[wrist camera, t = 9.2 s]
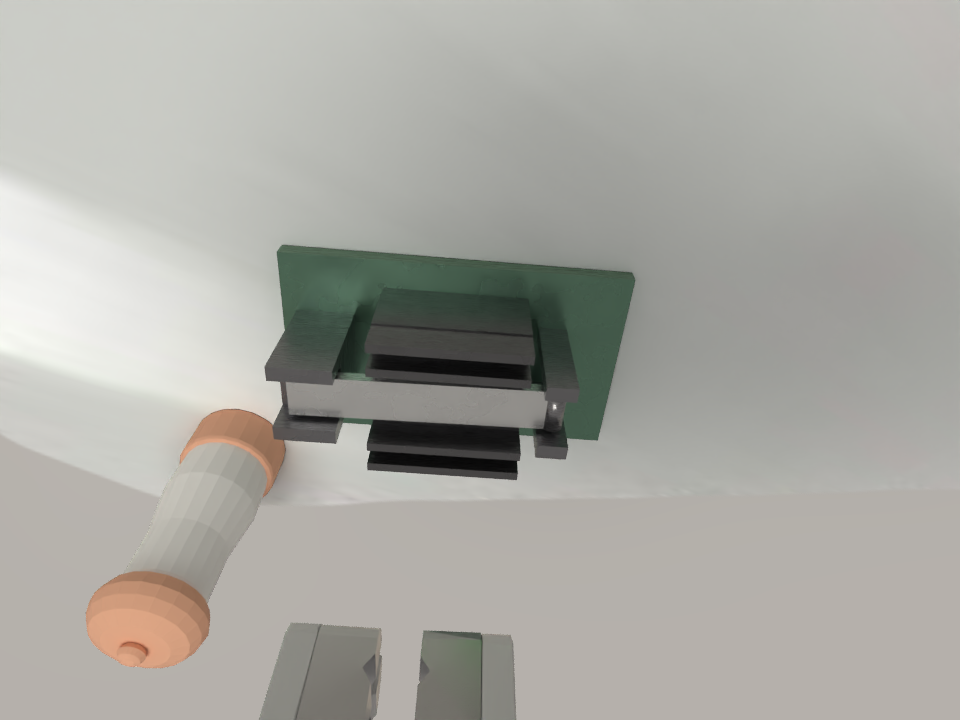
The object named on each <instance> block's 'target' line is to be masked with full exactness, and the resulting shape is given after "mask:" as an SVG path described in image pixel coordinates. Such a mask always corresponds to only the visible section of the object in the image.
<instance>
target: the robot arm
mask: <svg viewBox="0 0 960 720" xmlns="http://www.w3.org/2000/svg"><path fill="white" fill-rule="evenodd" d="M381 641H382V636H381V629H380V628H379V629H378V628H364V627H349V626H332V625H322V624H308V623H291V624H290V626H289V627H288V629H287V631H286V633H285V636H284V640H283V643H282V646H281V649H280V652H279V656H278V659H277V662H276V665H275V669H274V672H273V675H272V678H271V682H270V685H269V688H268V691H267V694H266V698H265V701H264V704H263V707H262V711H261V714H260V718H259V720H372V719H373V718H374V717H375V716H376V713H377V706H378V699H379V690H380V681H381V667H382V656H381V655H380V648H381ZM420 661H421V662H420V677H419V681H420V683H419V684H418V690H417V702H416V712H415V720H516V705H515V704H516V703H515V677H514V652H513V641H512V638H511V636H510V635H498V634H497V635H496V634H482V635H481V633H472V632H446V631H423V640H422V649H421V660H420Z"/></svg>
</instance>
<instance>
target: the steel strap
mask: <svg viewBox="0 0 960 720" xmlns="http://www.w3.org/2000/svg"><path fill="white" fill-rule="evenodd" d="M286 390H287V399H288V409H289V414H290V415H307V416H325V417H342V418H360V419H377V420H395V421H412V422H430V423H447V424H465V425H482V426H500V427H517V428H535V429H544V430H545V431H548V432H558V431H560V430H561V427H562V422H563V417H564V412H565V406H566V402H556V401H545V397H544V389H543V385H540V384H531V388H530V389H525V388H511V387H497V386H483V385H470V384H456V383H442V382H428V381H415V380H401V379H387V378H373V377H365V374H360V373H343V372H337V375H336V378H335V380H334V383H333V385H320V384H306V383H292V382H286Z"/></svg>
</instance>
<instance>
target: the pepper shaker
mask: <svg viewBox="0 0 960 720" xmlns="http://www.w3.org/2000/svg"><path fill="white" fill-rule="evenodd" d="M272 427H273V425H271V424H270V423H269V422H268V421H267V420H265V419H263V418H261V417H259V416H257V415H256V414H254V413H250V412H246V411H242V410H221V411H218V412H214V413H211V414H210V415H209V416H207V417H206V418H204V419H203V420H202V421H201V423H200V425H199V426H198V428H197V429H196V431H195V432H194V434H193V436H192V437H191V439H190V440H189V442H188V443H187V445H186V447H185V448H184V450H183V452H182V453H181V455H180V466H179V467H178V468H177V470H176V471H175V473H174V474H173V476H172V477H171V479H170V480H169V482H168V483H167V485H166V487H165V489H164V490H163V493H162V495H161V498H160V501H159V503H158V506H157V508H156V511H155V514H154V516H153V519H152V522H151V524H150V527H149V530H148V532H147V534H146V536H145V538H144V540H143V541H142V543H141V545H140V546H139V548H138V549H137V551H136V553H135V555H134V556H133V558H132V560H131V561H130V563H129V565H128V566H127V568H126V570H125V572H124V573H123V574H121V575H119V576H117V577H115V578H114V579H112V580H111V581H109V582H108V583H106V584H104V585H103V586H102V587H101V588H99V589H98V590H97V591H96V592H95V593H94V595H93V596H92V598H91V600H90V602H89V605H88V608H87V612H86V623H87V632H88V636H89V638H90V639H91V641H92V643H93V644H94V645H95V646H96V647H97V648H98V649H99V650H100V651H102V652H103V653H104V654H106V655H108V656H109V657H111V658H113V659H115V660H117V661H118V662H119V663H121V664H122V665H125V666H129V667H135V666H138V667H143V668H164V667H169V666H174V665H176V664H177V663H179V662H181V661H183V660H185V659H186V658H188V657H189V656H191V655H192V654H194V653H195V652H196V650H197V649H198V648H199V647H200V645H201V644H202V642H203V641H204V640H205V639H206V637H207V636H208V633H209V625H210V624H209V623H210V611H209V608H208V605H207V603H208V601H209V599H210V596H211V594H212V592H213V590H214V588H215V585H216V583H217V581H218V579H219V577H220V574H221V572H222V570H223V568H224V565H225V563H226V561H227V559H228V557H229V556H230V554H231V553H232V551H233V550H234V548H235V547H236V545H237V544H238V542H239V541H240V539H241V538H242V536H243V535H244V533H245V532H246V530H247V529H248V527H249V526H250V524H251V523H252V522H253V520H254V517H255V515H256V512H257V510H258V507H259V504H260V502H261V499H262V497H264V496H265V495H266V494H267V493H268V492H269V490H270V489H271V487H272V486H273V483H274V481H275V479H276V476H277V474H278V471H279V469H280V467H281V464H282V462H283V459H284V454H285V446H284V442H283V440H276V439H274V437H273V429H272Z"/></svg>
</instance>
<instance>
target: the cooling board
mask: <svg viewBox="0 0 960 720" xmlns="http://www.w3.org/2000/svg"><path fill="white" fill-rule="evenodd" d="M277 258H278V268H279V278H280V287H281V297H282V307H283V317H284V326H285V331H284V333H283V335H282V337H281V339H280V340H279V342H278V344H277V346H276V347H275V349H274V351H273V353H272V355H271V356H270V358H269V360H268V362H267V363H266V365H265V374H266V381H278V382H280V384H281V393H282V402H283V405H282V408H281V410H280V412H279V414H278V416H277V418H276V420H275V422H274V425H273V427H272V429H273V437H274V439H276V440H290V441H305V442H320V443H334V444H336V442H337V439H338V436H339V433H340V430H341V427H342V423H356V424H370V425H371V429H370V433H369V437H368V441H367V451H370V454H369V459H368V463H367V469H368V470H376V471H391V472H405V473H420V474H435V475H450V476H464V477H479V478H494V479H509V480H517V474H518V471H517V461H520V455H521V453H520V438H519V435H527V436H533V438H534V448H535V457H537V458H552V459H566V456H567V451H568V444H567V438H570V439H584V440H598V437H599V432H600V428H601V424H602V420H603V415H604V411H605V407H606V403H607V398H608V394H609V390H610V386H611V381H612V377H613V373H614V369H615V364H616V360H617V356H618V352H619V347H620V343H621V339H622V335H623V330H624V326H625V322H626V318H627V313H628V309H629V305H630V301H631V296H632V292H633V288H634V284H635V278H634V276H633V274H632V273H629V272H616V271H603V270H591V269H578V268H565V267H553V266H540V265H528V264H515V263H502V262H490V261H477V260H465V259H452V258H439V257H427V256H414V255H401V254H389V253H376V252H364V251H351V250H338V249H326V248H313V247H301V246H288V245H282V246H281V247H280V248H279V250H278V251H277ZM337 372H343V373H360V374H365V377H373V378H387V379H401V380H415V381H428V382H442V383H456V384H470V385H483V386H497V387H511V388H525V389H530V388H531V384H540V385H543V389H544V397H545V401H556V402H566V406H565V412H564V417H563V422H562V427H561V430H560V431H558V432H548V431H545V430H544V429H535V428H517V427H500V426H482V425H465V424H447V423H430V422H412V421H395V420H377V419H360V418H342V417H325V416H307V415H290V414H289V409H288V399H287V390H286V382H292V383H306V384H320V385H333V383H334V380H335V378H336V375H337Z"/></svg>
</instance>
